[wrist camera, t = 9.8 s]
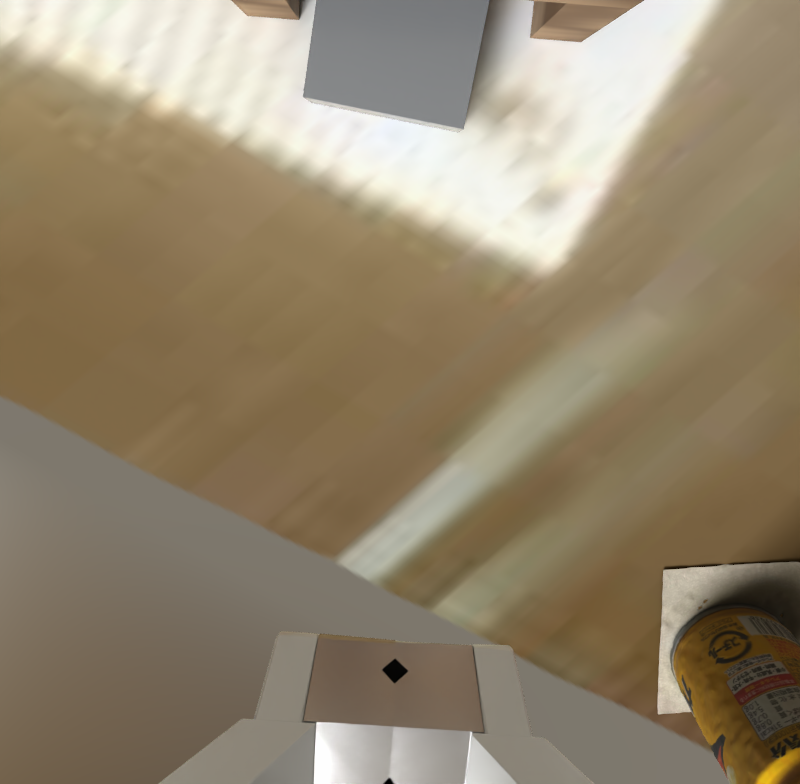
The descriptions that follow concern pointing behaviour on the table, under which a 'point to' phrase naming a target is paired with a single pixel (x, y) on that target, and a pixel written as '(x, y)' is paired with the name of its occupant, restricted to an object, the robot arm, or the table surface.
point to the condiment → (736, 664)
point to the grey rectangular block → (396, 58)
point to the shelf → (552, 17)
